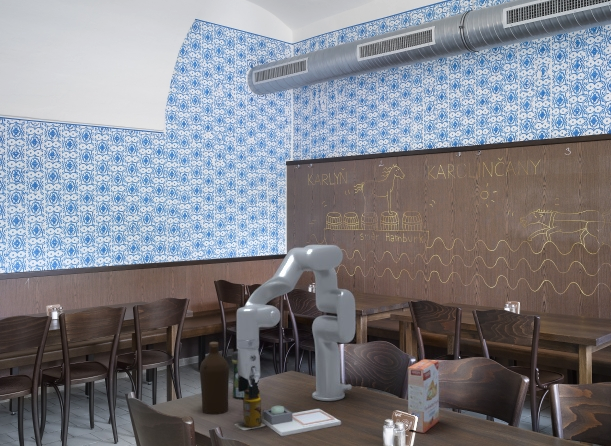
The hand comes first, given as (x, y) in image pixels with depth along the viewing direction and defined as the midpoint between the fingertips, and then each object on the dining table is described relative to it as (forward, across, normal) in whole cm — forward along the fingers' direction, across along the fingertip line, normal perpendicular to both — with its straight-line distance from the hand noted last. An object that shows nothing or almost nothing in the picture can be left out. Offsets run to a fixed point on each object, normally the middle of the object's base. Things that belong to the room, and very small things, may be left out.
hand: (248, 394), depth 212 cm
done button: (+8, -3, -10) cm, 13 cm away
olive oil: (+11, +22, +4) cm, 25 cm away
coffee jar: (+10, +34, -12) cm, 38 cm away
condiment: (+11, 0, -1) cm, 11 cm away
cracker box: (+10, -30, -51) cm, 60 cm away
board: (+10, -7, -17) cm, 21 cm away
